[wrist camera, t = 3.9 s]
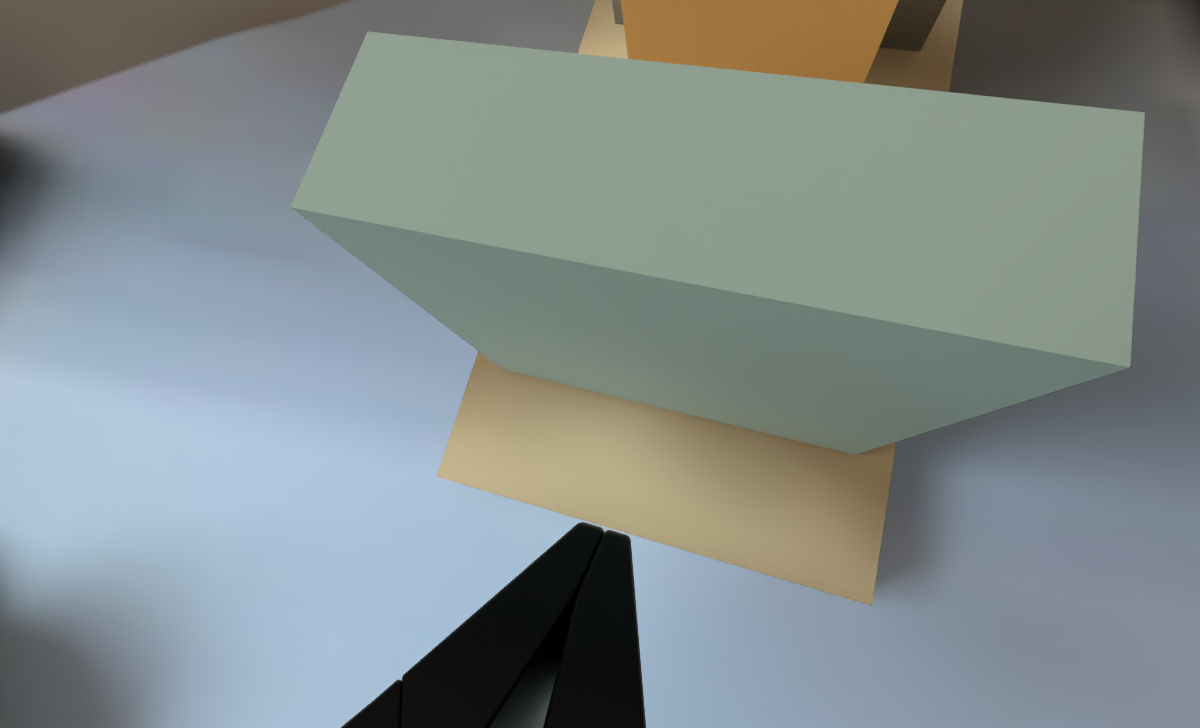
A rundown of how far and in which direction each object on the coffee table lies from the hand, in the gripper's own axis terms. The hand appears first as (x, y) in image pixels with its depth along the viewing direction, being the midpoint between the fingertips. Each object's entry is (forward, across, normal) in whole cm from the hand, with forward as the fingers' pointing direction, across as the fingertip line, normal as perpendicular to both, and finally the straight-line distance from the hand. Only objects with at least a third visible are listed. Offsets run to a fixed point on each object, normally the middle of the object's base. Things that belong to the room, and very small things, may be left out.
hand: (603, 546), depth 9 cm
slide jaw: (+8, 0, +1) cm, 8 cm away
